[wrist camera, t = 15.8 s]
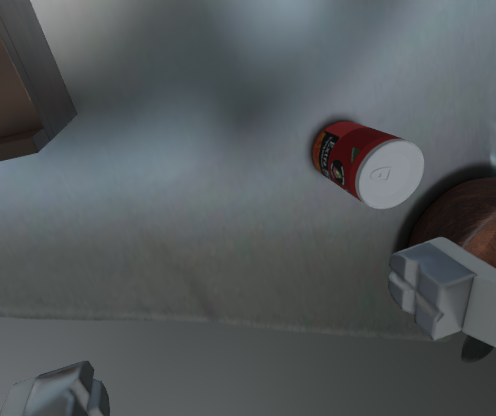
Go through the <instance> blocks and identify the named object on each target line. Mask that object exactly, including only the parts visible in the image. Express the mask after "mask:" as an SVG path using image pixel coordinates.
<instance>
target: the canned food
mask: <svg viewBox="0 0 496 416" xmlns="http://www.w3.org/2000/svg"><path fill="white" fill-rule="evenodd" d="M312 155H313V161H314V163H315V166H316V167H317V169H318V171H319V172H320V173H321V174H323V175H324V176H326V177H327V178H328V179H330V180H331V181H333V182H334V183H336V184H337V185H338V186H340V187H341V188H343V189H344V190H346V191H347V192H348V193H350V194H351V195H353V196H354V197H356V198H357V199H359V200H360V201H362V202H363V203H365V204H366V205H368V206H370V207H373V208H376V209H387V208H391V207H394V206H396V205H398V204H400V203H402V202H403V201H405V200H406V199H407V198H408V197H409V196H410V195H411V194H412V193H413V192H414V191H415V189H416V188H417V186H418V185H419V183H420V181H421V178H422V175H423V171H424V157H423V155H422V152H421V151H420V149H419V148H418V147H417V146H416V145H415V144H413V143H411V142H409V141H407V140H404V139H401V138H399V137H396V136H393V135H390V134H387V133H384V132H381V131H378V130H375V129H372V128H369V127H366V126H363V125H360V124H357V123H354V122H349V121H343V122H337V123H334V124H332V125H330V126H328V127H327V128H325V129H324V130H323V131H322V132H321V133H320V134H319V136H318V137H317V139H316V141H315V143H314V146H313V153H312Z"/></svg>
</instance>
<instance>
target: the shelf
mask: <svg viewBox="0 0 496 416" xmlns="http://www.w3.org/2000/svg"><path fill="white" fill-rule="evenodd" d="M76 115H77V113H76V111H75V109H74V106H73V104H72V101H71V99H70V96H69V94H68V92H67V89H66V87H65V84H64V82H63V80H62V77H61V75H60V72H59V70H58V68H57V65H56V63H55V60H54V58H53V55H52V53H51V51H50V48H49V46H48V43H47V41H46V39H45V36H44V34H43V31H42V29H41V26H40V24H39V22H38V19H37V17H36V14H35V12H34V10H33V7H32V5H31V2H30V0H0V161H4V160H8V159H13V158H17V157H21V156H25V155H30V154H34V153H38V152H39V151H40V150H41V149H42V148H43V147H45V146H46V145H47V144H48V143H49V142H50V141H51V140H52V139H53V138H54V137H55V136H56V135H57V134H58V133H59V132H60V131H61V130H62V129H63V128H64V127H65V126H66V125H67V124H68V123H69V122H70V121H71V120H72V119H73V118H74V117H75V116H76Z"/></svg>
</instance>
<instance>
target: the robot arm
mask: <svg viewBox="0 0 496 416" xmlns="http://www.w3.org/2000/svg"><path fill="white" fill-rule="evenodd" d="M389 266H390V267H391V268H392V269H393V272H392V273H391V275H390V276H389V278H388V288H389V290H390V293H391V296H392V298H393V299H394V301H395V302H396V304H397V305H398V306H399V307H400V308H401V309H402V310H404V311H407V312H410V313H412V314H414V321H415V323H416V324H417V325H418V326H419V327H420V328H421V329H422V330H423V331H424V332H425V333H426V334H427V335H428V336H430V337H431V338H432V339H433V340H437V339H439V338H442V337H445V336H448V335H450V334H453V333H456V332H458V331H461V330H462V331H463V332H464V333H466V334H468V335H470V336H472V337H474V338H477V339H479V340H481V341H483V342H485V343H487V344H490V345H492V346H494V347H496V268H494V267H492V266H491V265H489V264H488V263H486V262H484V261H483V260H481V259H479V258H478V257H476V256H475V255H473V254H471V253H470V252H468V251H466V250H465V249H463V248H461V247H460V246H458V245H457V244H455V243H453V242H452V241H450V240H448V239H447V238H443V237H438V238H435V239H432V240H429V241H426V242H424V243H421V244H418V245H415V246H413V247H410V248H407V249H404V250H401V251H399V252H396V253H393V254H392V255H391V257H390V260H389ZM93 375H94V369H93V367H92V366H91V364H90V363H89V361H82V362H79V363H75V364H72V365H70V366H66V367H63V368H60V369H57V370H54V371H51V372H48V373H44V374H41V375H39V376H37V377H34V378H30V379H27V380H24V381H21V382H18V383H15V384H14V385H13V387H11V389H10V390H9V392H8V394H7V396H6V399H5V401H4V404H3V406H2V409H1V412H0V416H110V407H109V397H108V394H107V391H106V388H105V386H104V385H103V383H102V381H99V380H96V379H93Z"/></svg>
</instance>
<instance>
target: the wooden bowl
mask: <svg viewBox="0 0 496 416" xmlns="http://www.w3.org/2000/svg"><path fill="white" fill-rule="evenodd" d="M438 237H443V238H447V239H448V240H450V241H452V242H453V243H455V244H457V245H458V246H460V247H461V248H463V249H465V250H466V251H468V252H470V253H471V254H473V255H475V256H476V257H478V258H479V259H481V260H483V261H484V262H486V263H488V264H489V265H491V266H492V267H494V268H496V177H489V178H480V179H475V180H470V181H467V182H464V183H461V184H459V185H457V186H455V187H453V188H451V189H450V190H448V191H447V192H445V193H444V194H442V195H441V196H440V197H438V198H437V199H436V200H435V201H434V202H433V203H432V204H431V205H430V206H429V207H428V208H427V209H426V211H425V212H424V213H423V214H422V216H421V217H420V219H419V220H418V222H417V223H416V225H415V227H414V229H413V231H412V234H411V237H410V240H409V244H408V248H410V247H413V246H415V245H418V244H421V243H424V242H426V241H429V240H432V239H435V238H438Z"/></svg>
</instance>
